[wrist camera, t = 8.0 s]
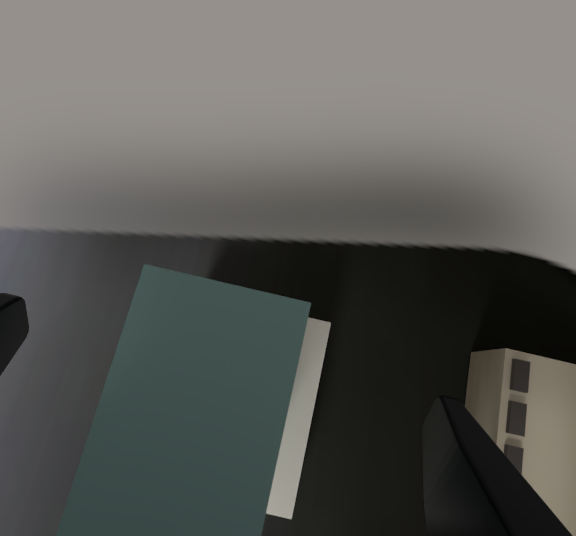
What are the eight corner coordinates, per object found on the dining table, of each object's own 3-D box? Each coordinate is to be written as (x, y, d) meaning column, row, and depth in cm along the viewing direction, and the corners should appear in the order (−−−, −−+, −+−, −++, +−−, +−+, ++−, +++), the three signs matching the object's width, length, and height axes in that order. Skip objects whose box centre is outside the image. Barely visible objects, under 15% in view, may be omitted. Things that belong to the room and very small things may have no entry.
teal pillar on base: (322, 329, 16) (406, 257, 6) (288, 498, 15) (327, 745, 5) (195, 300, 16) (84, 183, 6) (148, 465, 15) (-90, 641, 5)
